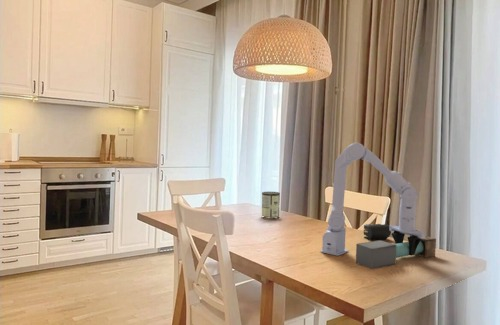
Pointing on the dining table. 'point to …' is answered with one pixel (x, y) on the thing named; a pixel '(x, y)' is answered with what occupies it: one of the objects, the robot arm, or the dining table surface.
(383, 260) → the grey rectangular box
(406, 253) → the tube
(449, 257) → the dining table surface
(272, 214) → the coffee can
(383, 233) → the end cap
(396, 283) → the dining table surface
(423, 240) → the socket block
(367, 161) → the robot arm
